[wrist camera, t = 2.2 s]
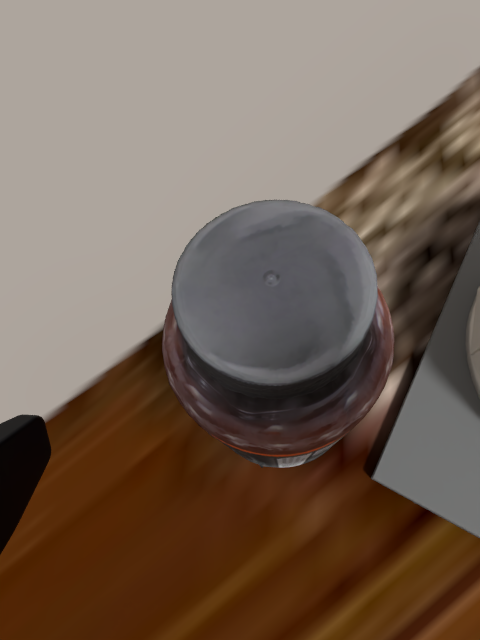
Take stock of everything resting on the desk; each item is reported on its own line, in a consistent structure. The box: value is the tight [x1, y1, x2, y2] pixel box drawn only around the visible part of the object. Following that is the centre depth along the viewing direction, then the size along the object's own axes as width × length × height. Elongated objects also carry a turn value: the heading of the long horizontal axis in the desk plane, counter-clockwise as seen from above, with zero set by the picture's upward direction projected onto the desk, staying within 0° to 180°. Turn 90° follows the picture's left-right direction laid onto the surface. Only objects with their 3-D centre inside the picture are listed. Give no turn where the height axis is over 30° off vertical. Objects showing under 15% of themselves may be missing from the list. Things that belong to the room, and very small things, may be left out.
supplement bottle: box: [162, 200, 394, 467], centre depth 13 cm, size 6×6×11 cm
